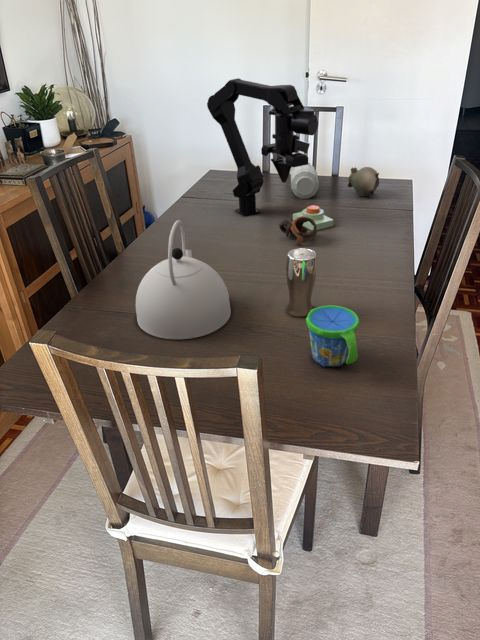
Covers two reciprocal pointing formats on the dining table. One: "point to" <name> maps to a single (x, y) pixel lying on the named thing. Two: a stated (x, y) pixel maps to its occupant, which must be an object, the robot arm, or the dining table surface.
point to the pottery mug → (298, 229)
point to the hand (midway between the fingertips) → (284, 182)
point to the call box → (315, 219)
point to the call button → (313, 209)
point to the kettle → (181, 296)
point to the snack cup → (333, 335)
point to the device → (304, 181)
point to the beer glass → (300, 280)
